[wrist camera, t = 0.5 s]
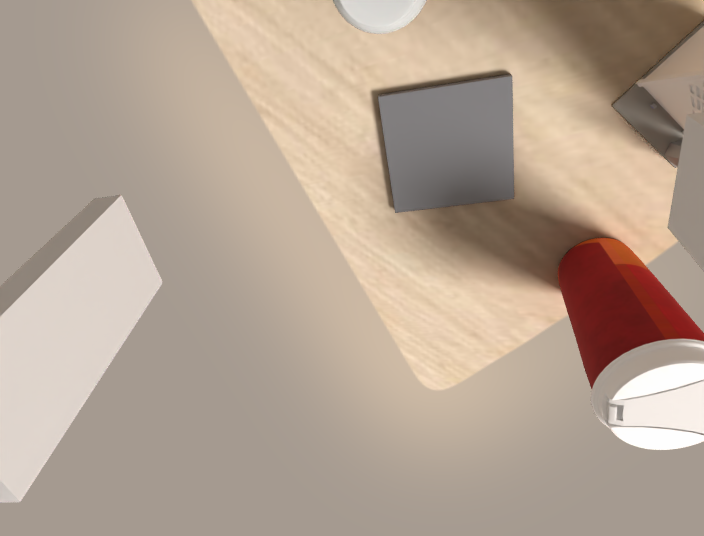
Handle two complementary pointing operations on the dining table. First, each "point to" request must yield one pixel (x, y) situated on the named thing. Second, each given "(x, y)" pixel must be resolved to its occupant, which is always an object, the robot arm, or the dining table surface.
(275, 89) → the dining table surface
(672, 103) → the skyscraper
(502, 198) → the coaster
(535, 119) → the dining table surface
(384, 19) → the pill bottle
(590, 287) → the coffee cup
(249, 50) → the dining table surface
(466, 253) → the dining table surface
